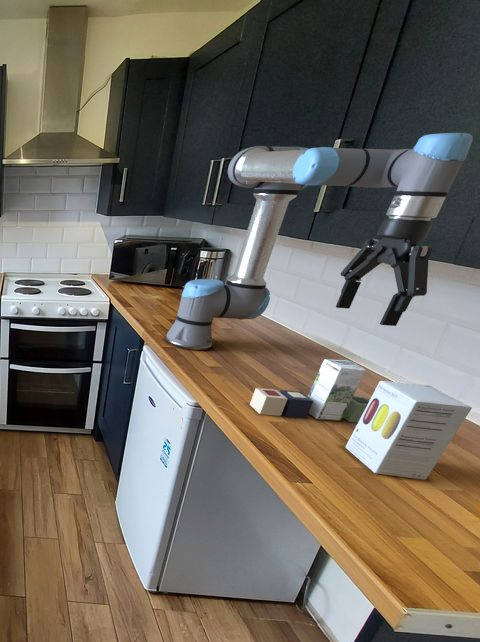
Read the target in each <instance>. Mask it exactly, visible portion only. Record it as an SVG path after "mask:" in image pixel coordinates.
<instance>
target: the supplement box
mask: <svg viewBox="0 0 480 642" xmlns="http://www.w3.org/2000/svg"><path fill="white" fill-rule="evenodd" d="M369 400H370V401H369V403H368V405H367V407H366V409H365V411H364V412H363V414H362V416H361V418H360V420H359V422H358V423H356V425H355V428H354V430H353V432H352V433H351V435H350V437H349V439H348V441H347V443H346V445H345V449H346V450H348V451H349V452H350V454H352V455H353V456H354V457H356V458H357V459H358V460H359V461H360V462H361V463H362V464H363V465H364V466H366V467H367V468H368V469H369V470H370V471H371V472H373V473H374V474H377V475H384V476H392V477H400V478H409V479H417V480H427V478H428V477H429V476H430V474H431V472H432V471H433V469H434V468H435V466H436V464H437V463H438V462H439V460H440V458H441V457H442V455H443V454H444V452H445V451H446V449H447V448H448V445H450V443H451V442H452V439H454V436H455V435H456V433H457V432H458V430H459V429H460V427H461V425H462V424H463V422H464V421H465V419H466V418H467V417H468V415H469V413H470V412H471V410H472V409H473V407H472V406H470V405H468V404H467V403H463V402H462V401H460V400H458V399H456V398H454V397H452V396H451V395H448V394H446V393H445V392H443V391H441V390H439V389H437V388H435V387H433V386H431V385H429V384H421V383H420V384H419V383H410V382H409V383H408V382H398V381H388V380H380V381H379V382H378V384H377V386H376V387H375V389H374V392H373V393H372V395H371V397H370V399H369Z"/></svg>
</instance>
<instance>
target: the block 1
mask: <svg viewBox="0 0 480 642" xmlns="http://www.w3.org/2000/svg"><path fill="white" fill-rule="evenodd" d="M286 402H287V398H286V397H285V396H284V395H282V394H281V393H280V391H278V390H277V389H272V388H271V389H270V388H259V387H255V390H254V392H253V394H252V397H251V400H250V403H249V406H250V407H251V408H252V409H253V410H255V412H257V413H258V414H259V415H265V416H275V417H282V415H283V414H282V412H283V409H284V407H285V404H286Z"/></svg>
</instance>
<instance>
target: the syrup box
mask: <svg viewBox="0 0 480 642" xmlns="http://www.w3.org/2000/svg"><path fill="white" fill-rule="evenodd" d="M366 372H367V369H365V368H364V367H363V366H361V365H359V364H358V363H355V362H354V361H351V360H347V359H346V360H345V359H331V358H330V359H328V358H325V359H323V361H322V364H321V366H320V368H319V370H318V372H317V374H316V377H315V379H314V380H313V381H314V382H313V384H312V385H311V388H310V391H309V392H308V394H307V396H308V397H309V398H310V399H312V400H313V404H312V406H311V408H310V410H309V413H308V415H310V416H312V417H313V418H315V419H316V420H322V421H323V420H324V421H335V422H341V421H342V419H343V415H344V413H345V411H346V409H347V407H348V405H349V403H350V401H351V399H352V398H353V396H355V394H356V392H357V390H358V387H359V386H360V383H361V382H362V380H363V378H364V376H365V374H366Z"/></svg>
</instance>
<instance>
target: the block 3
mask: <svg viewBox="0 0 480 642" xmlns="http://www.w3.org/2000/svg"><path fill="white" fill-rule="evenodd" d="M369 401H370V399H369V398H367V397H365V396H361V395H360V396H358V395H354V396H353V398H352V399H351V401H350V403H349V405H348V407H347V409H346V411H345V413H344V415H343V417H342V419H344V420H345V421H347V422H349V423H356V424H358V422H359V420H360V418H361V416H362V414H363V412H364V411H365V409H366V407H367V405H368V403H369Z"/></svg>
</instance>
